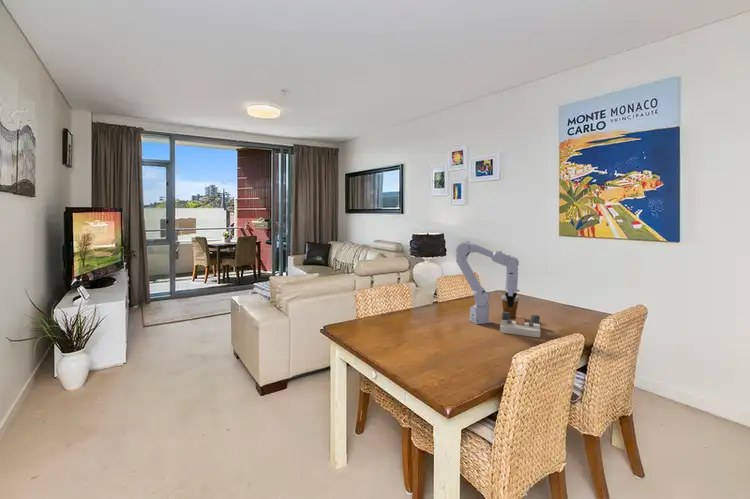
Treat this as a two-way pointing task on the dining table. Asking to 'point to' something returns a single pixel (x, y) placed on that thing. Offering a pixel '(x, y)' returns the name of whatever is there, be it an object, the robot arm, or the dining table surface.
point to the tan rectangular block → (520, 320)
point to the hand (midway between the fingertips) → (510, 306)
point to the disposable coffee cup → (510, 309)
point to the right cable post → (535, 319)
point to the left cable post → (505, 315)
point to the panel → (520, 328)
